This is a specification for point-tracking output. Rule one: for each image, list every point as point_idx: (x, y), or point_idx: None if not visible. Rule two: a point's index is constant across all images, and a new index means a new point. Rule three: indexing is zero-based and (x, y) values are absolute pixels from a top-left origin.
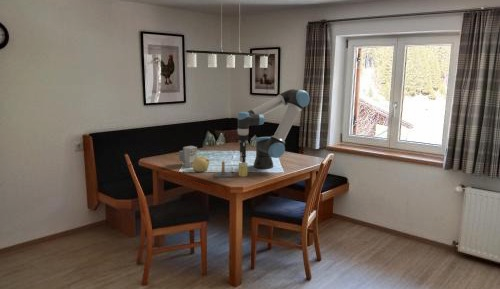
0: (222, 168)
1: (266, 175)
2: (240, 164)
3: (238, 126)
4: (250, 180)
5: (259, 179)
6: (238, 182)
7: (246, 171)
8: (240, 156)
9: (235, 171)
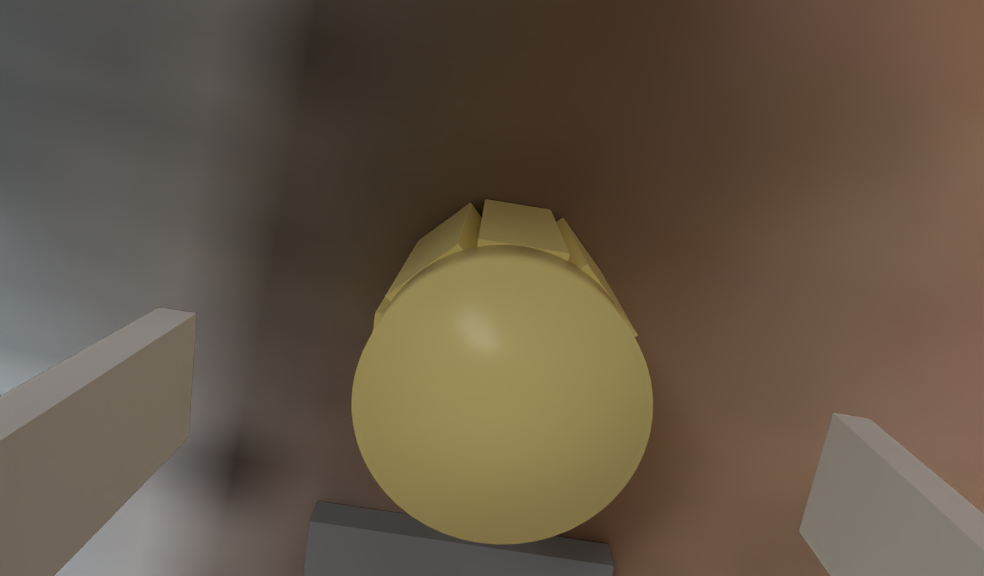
0: None
1: None
2: (592, 515)
3: None
4: (945, 243)
5: (956, 13)
6: None
7: (589, 260)
8: (81, 524)
9: None
